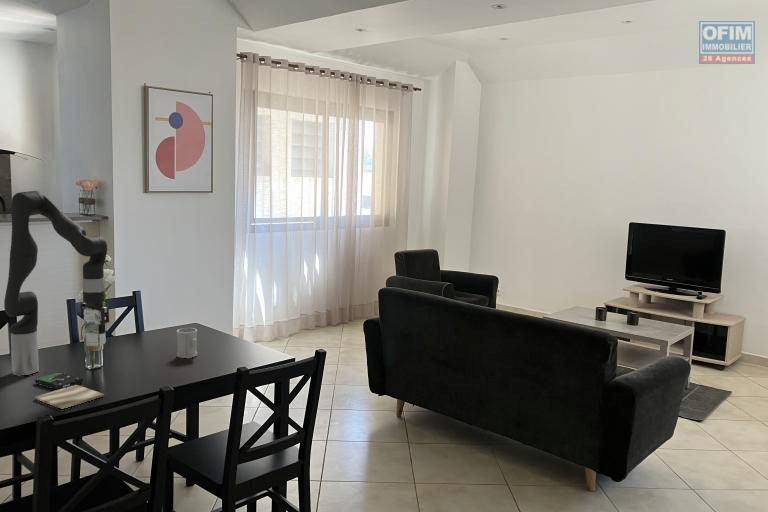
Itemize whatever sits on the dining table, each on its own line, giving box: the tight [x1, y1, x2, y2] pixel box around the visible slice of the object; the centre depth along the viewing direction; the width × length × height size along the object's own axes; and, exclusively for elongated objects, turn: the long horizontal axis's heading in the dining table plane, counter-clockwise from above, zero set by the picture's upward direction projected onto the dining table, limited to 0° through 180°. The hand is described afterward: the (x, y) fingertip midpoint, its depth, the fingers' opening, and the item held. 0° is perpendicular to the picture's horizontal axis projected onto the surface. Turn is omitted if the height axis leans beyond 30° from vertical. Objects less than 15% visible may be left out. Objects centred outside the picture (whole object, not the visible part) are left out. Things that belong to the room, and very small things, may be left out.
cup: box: [176, 327, 198, 359], centre depth 280 cm, size 10×9×12 cm
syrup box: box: [83, 308, 107, 348], centre depth 235 cm, size 6×6×14 cm
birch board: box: [34, 385, 105, 409], centre depth 226 cm, size 17×16×1 cm
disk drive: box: [34, 371, 84, 390], centre depth 241 cm, size 10×3×15 cm
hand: (95, 331), depth 235 cm, fingers closed on syrup box, 8 cm apart
